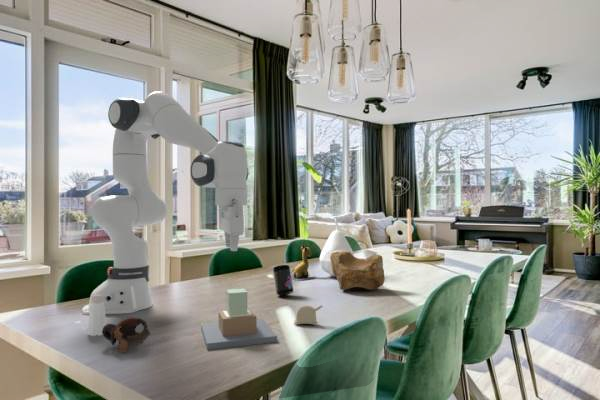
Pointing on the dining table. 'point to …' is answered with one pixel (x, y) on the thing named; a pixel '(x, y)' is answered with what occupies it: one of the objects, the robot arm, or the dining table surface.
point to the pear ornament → (334, 248)
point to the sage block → (236, 301)
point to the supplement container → (283, 280)
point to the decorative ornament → (306, 315)
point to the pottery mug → (126, 333)
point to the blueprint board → (236, 339)
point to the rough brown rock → (357, 271)
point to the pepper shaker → (96, 316)
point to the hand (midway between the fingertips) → (231, 248)
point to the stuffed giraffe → (302, 266)
